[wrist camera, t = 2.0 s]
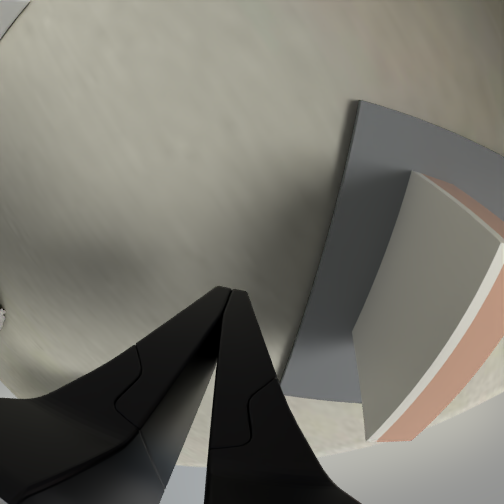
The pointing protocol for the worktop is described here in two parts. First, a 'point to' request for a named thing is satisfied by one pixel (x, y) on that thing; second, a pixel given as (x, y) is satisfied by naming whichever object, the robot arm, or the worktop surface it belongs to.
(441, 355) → the tile
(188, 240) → the worktop surface
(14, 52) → the worktop surface
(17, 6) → the milk carton
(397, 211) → the mat
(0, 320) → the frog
